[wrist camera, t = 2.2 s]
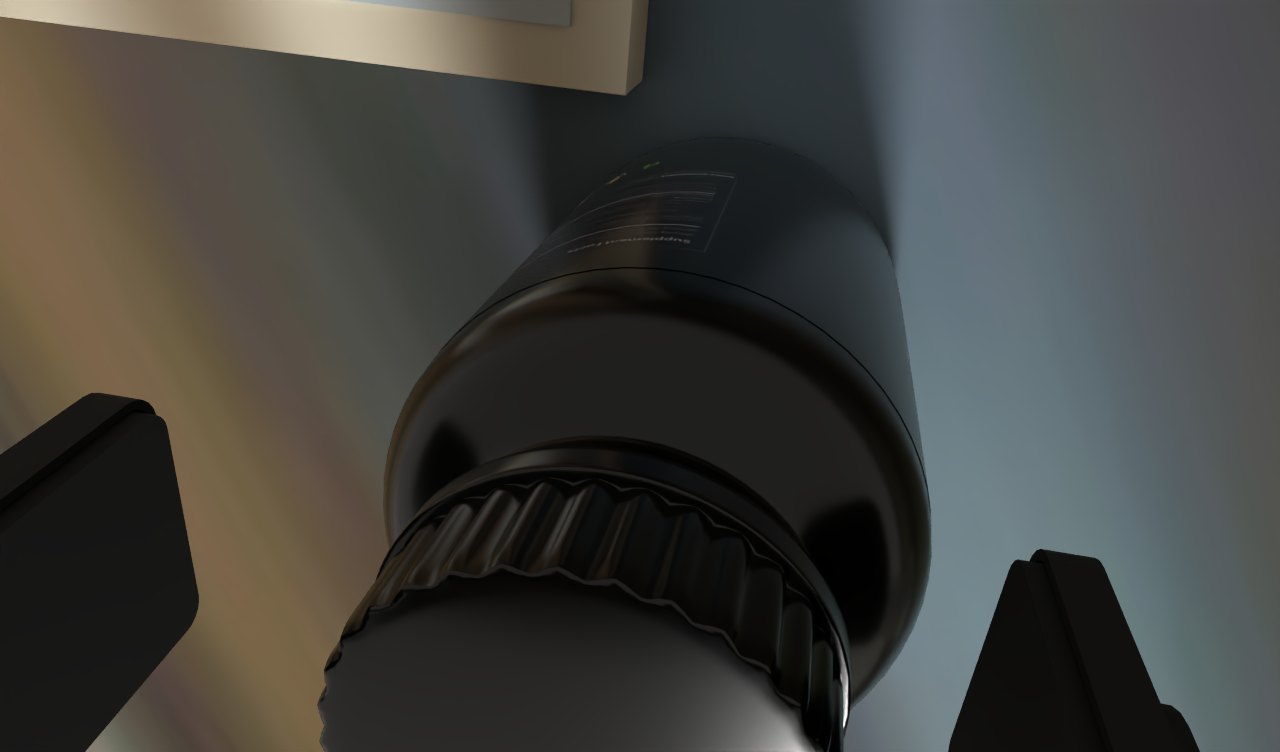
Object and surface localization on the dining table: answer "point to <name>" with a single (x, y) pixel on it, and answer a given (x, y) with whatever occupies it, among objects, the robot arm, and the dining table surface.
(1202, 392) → the dining table surface
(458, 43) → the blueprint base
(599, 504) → the supplement bottle
